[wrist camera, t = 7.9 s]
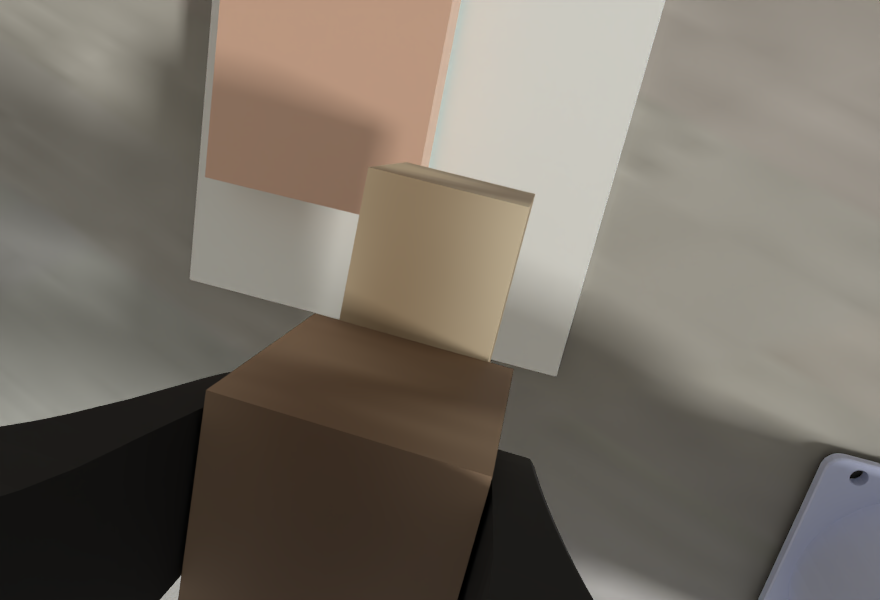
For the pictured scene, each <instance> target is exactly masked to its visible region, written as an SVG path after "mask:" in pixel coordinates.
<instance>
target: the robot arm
mask: <svg viewBox="0 0 880 600" xmlns="http://www.w3.org/2000/svg"><path fill="white" fill-rule="evenodd" d="M230 373H231V372H228V373H223V374H219V375H215V376H211V377H207V378H203V379H199V380H196V381H192V382H189V383H185V384H182V385H178V386H175V387H171V388H168V389H164V390H160V391H157V392H153V393H150V394H146V395H143V396H139V397H135V398H132V399H128V400H124V401H120V402H116V403H112V404H108V405H103V406H99V407H95V408H91V409H87V410H83V411H79V412H75V413H71V414H66V415H62V416H57V417H52V418H47V419H42V420H37V421H31V422H26V423H20V424H14V425H8V426H1V427H0V600H160V599H161V598H162V596H163V595H164V594H165V593H166V592H167V591H168V590H169V588H170V587H171V586H172V585H173V584H174V583H175V581H176V580H177V579H178V578H179V577H180V576H181V575H182V568H183V560H184V552H185V545H186V537H187V530H188V522H189V515H190V507H191V500H192V492H193V484H194V477H195V469H196V462H197V454H198V447H199V439H200V432H201V424H202V417H203V409H204V401H205V394H206V390H207V389H208V388H210V387H211V386H212V385H214V384H215V383H217V382H218V381H220V380H221V379H222V378H224V377H225V376H227V375H228V374H230ZM857 470H861V471H863V474H862V475H861V476H860V477H858V478H855V479H853V478H850V475H851V474H852V473H853V472H855V471H857ZM457 600H593V598H592V596H591V595H590V593H589V591H588V589H587V588H586V586H585V584H584V582H583V580H582V578H581V576H580V575H579V573H578V571H577V569H576V567H575V565H574V563H573V561H572V559H571V557H570V555H569V553H568V551H567V549H566V547H565V545H564V543H563V540H562V538H561V536H560V534H559V532H558V529H557V527H556V525H555V523H554V520H553V518H552V516H551V513H550V511H549V508H548V506H547V503H546V500H545V498H544V495H543V492H542V490H541V487H540V484H539V481H538V478H537V474H536V471H535V468H534V465H533V464H532V462H531V460H530V459H528V458H525V457H522V456H518V455H515V454H512V453H508V452H505V451H502V450H498V451H497V456H496V461H495V466H494V471H493V476H492V480H491V484H490V487H489V491H488V494H487V498H486V501H485V505H484V508H483V512H482V515H481V519H480V522H479V526H478V529H477V533H476V536H475V540H474V543H473V547H472V550H471V554H470V557H469V561H468V564H467V568H466V571H465V575H464V578H463V582H462V585H461V589H460V592H459V596H458V599H457ZM758 600H880V463H877V462H873V461H870V460H866V459H862V458H858V457H854V456H851V455H847V454H842V453H835V454H831V455H829V456H827V457H825V458H824V459H823V461H822V462H821V464H820V466H819V468H818V470H817V472H816V475H815V477H814V479H813V481H812V483H811V485H810V488H809V490H808V492H807V494H806V496H805V498H804V501H803V503H802V505H801V507H800V509H799V512H798V514H797V516H796V518H795V520H794V522H793V525H792V527H791V529H790V531H789V533H788V535H787V538H786V540H785V542H784V544H783V546H782V548H781V551H780V553H779V555H778V557H777V559H776V562H775V564H774V566H773V568H772V570H771V572H770V575H769V577H768V579H767V581H766V583H765V585H764V588H763V590H762V592H761V594H760V596H759V599H758Z"/></svg>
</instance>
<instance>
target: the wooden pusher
mask: <svg viewBox="0 0 880 600" xmlns="http://www.w3.org/2000/svg"><path fill="white" fill-rule="evenodd" d="M534 197H535V194H533V193H529V192H525V191H521V190H517V189H513V188H509V187H505V186H501V185H497V184H493V183H489V182H485V181H481V180H477V179H473V178H469V177H465V176H461V175H457V174H452V173H448V172H444V171H440V170H436V169H432V168H428V167H424V166H420V165H416V164H412V163H408V162H404V163H396V164H388V165H381V166H373V167H368V172H367V177H366V182H365V188H364V193H363V198H362V203H361V209H360V214H359V219H358V224H357V230H356V235H355V240H354V245H353V250H352V256H351V261H350V266H349V271H348V277H347V282H346V287H345V292H344V298H343V303H342V308H341V313H340V318H339V320H337V319H334V318H330V317H327V316H323V315H320V314H316V313H315V314H313V315H312V316H311V317H309V318H308V319H306V320H305V321H304V322H302V323H301V324H299V325H298V326H296V327H295V328H294V329H292V330H291V331H289V332H288V333H286V334H285V335H284V336H282V337H281V338H279V339H278V340H276V341H275V342H274V343H272V344H271V345H269V346H268V347H267V348H265V349H264V350H262V351H261V352H259V353H258V354H257V355H255V356H254V357H252V358H251V359H249V360H248V361H247V362H245V363H244V364H242V365H241V366H240V367H238V368H237V369H235V370H234V371H232V372H231V373H230V374H228V375H227V376H225V377H224V378H222V379H221V380H220V381H218V382H217V383H215V384H214V385H212V386H211V387H210V388H208V389H207V390H206V394H205V401H204V409H203V417H202V424H201V432H200V439H199V447H198V454H197V462H196V469H195V477H194V484H193V492H192V500H191V507H190V515H189V522H188V530H187V537H186V545H185V552H184V560H183V568H182V575H181V583H180V590H179V598H178V600H457V599H458V596H459V592H460V589H461V585H462V582H463V578H464V575H465V571H466V568H467V564H468V561H469V557H470V554H471V550H472V547H473V543H474V540H475V536H476V533H477V529H478V526H479V522H480V519H481V515H482V512H483V508H484V505H485V501H486V498H487V494H488V491H489V487H490V484H491V480H492V476H493V471H494V466H495V461H496V456H497V451H498V446H499V441H500V436H501V431H502V426H503V421H504V416H505V411H506V406H507V401H508V396H509V390H510V385H511V380H512V375H513V370H514V369H511V368H508V367H504V366H501V365H497V364H494V363H490V361H491V357H492V354H493V350H494V346H495V343H496V339H497V335H498V331H499V328H500V324H501V320H502V316H503V313H504V309H505V305H506V301H507V298H508V294H509V290H510V287H511V283H512V279H513V275H514V272H515V268H516V264H517V260H518V257H519V253H520V249H521V246H522V242H523V238H524V234H525V231H526V227H527V223H528V219H529V216H530V212H531V208H532V205H533V201H534Z"/></svg>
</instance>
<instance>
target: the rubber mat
mask: <svg viewBox="0 0 880 600" xmlns="http://www.w3.org/2000/svg"><path fill="white" fill-rule="evenodd" d="M664 4H665V0H461V4H460V9H459V14H458V19H457V25H456V30H455V35H454V40H453V45H452V50H451V55H450V60H449V65H448V70H447V76H446V81H445V86H444V91H443V96H442V101H441V106H440V111H439V116H438V121H437V127H436V132H435V137H434V142H433V147H432V152H431V157H430V162H429V167H428V168H432V169H436V170H440V171H444V172H448V173H452V174H457V175H461V176H465V177H469V178H473V179H477V180H481V181H485V182H489V183H493V184H497V185H501V186H505V187H509V188H513V189H517V190H521V191H525V192H529V193H533V194H535V197H534V201H533V205H532V208H531V212H530V216H529V219H528V223H527V227H526V231H525V234H524V238H523V242H522V246H521V249H520V253H519V257H518V260H517V264H516V268H515V272H514V275H513V279H512V283H511V287H510V290H509V294H508V298H507V301H506V305H505V309H504V313H503V316H502V320H501V324H500V328H499V331H498V335H497V339H496V343H495V346H494V350H493V354H492V357H491V360H495V361H499V362H502V363H506V364H510V365H514V366H517V367H521V368H525V369H529V370H533V371H536V372H540V373H544V374H548V375H551V376H555V377H556V376H557V372H558V369H559V366H560V362H561V359H562V355H563V352H564V348H565V345H566V341H567V338H568V334H569V331H570V328H571V324H572V321H573V317H574V314H575V310H576V307H577V303H578V300H579V297H580V293H581V290H582V286H583V283H584V279H585V276H586V272H587V269H588V266H589V262H590V259H591V255H592V252H593V248H594V245H595V241H596V238H597V235H598V231H599V228H600V224H601V221H602V217H603V214H604V210H605V207H606V203H607V200H608V197H609V193H610V190H611V186H612V183H613V179H614V176H615V172H616V169H617V166H618V162H619V159H620V155H621V152H622V148H623V145H624V141H625V138H626V135H627V131H628V128H629V124H630V121H631V117H632V114H633V110H634V107H635V104H636V100H637V97H638V93H639V90H640V86H641V83H642V79H643V76H644V73H645V69H646V66H647V62H648V59H649V55H650V52H651V48H652V45H653V41H654V38H655V35H656V31H657V28H658V24H659V21H660V17H661V14H662V10H663V7H664ZM219 5H220V0H212V9H211V22H210V34H209V46H208V59H207V71H206V83H205V96H204V108H203V120H202V133H201V145H200V157H199V170H198V182H197V194H196V207H195V219H194V231H193V244H192V256H191V268H190V280H193V281H197V282H201V283H204V284H208V285H212V286H216V287H219V288H223V289H227V290H231V291H234V292H238V293H242V294H246V295H250V296H253V297H257V298H261V299H265V300H268V301H272V302H276V303H280V304H284V305H287V306H291V307H295V308H299V309H302V310H306V311H310V312H314V313H317V314H321V315H325V316H329V317H333V318H336V319H339V318H340V313H341V308H342V303H343V298H344V292H345V287H346V282H347V277H348V271H349V266H350V261H351V256H352V250H353V245H354V240H355V235H356V230H357V224H358V219H359V215H358V214H354V213H350V212H346V211H342V210H338V209H334V208H330V207H325V206H321V205H317V204H313V203H309V202H305V201H301V200H297V199H293V198H289V197H284V196H280V195H276V194H272V193H268V192H264V191H260V190H256V189H252V188H248V187H243V186H239V185H235V184H231V183H227V182H223V181H219V180H215V179H211V178H207V177H205V170H206V158H207V147H208V135H209V123H210V111H211V99H212V88H213V76H214V64H215V52H216V40H217V29H218V17H219Z"/></svg>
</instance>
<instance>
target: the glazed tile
mask: <svg viewBox="0 0 880 600" xmlns="http://www.w3.org/2000/svg"><path fill="white" fill-rule="evenodd" d="M460 4H461V0H220V5H219V17H218V29H217V40H216V52H215V64H214V76H213V88H212V99H211V111H210V123H209V135H208V147H207V158H206V170H205V177H207V178H211V179H215V180H219V181H223V182H227V183H231V184H235V185H239V186H243V187H248V188H252V189H256V190H260V191H264V192H268V193H272V194H276V195H280V196H284V197H289V198H293V199H297V200H301V201H305V202H309V203H313V204H317V205H321V206H325V207H330V208H334V209H338V210H342V211H346V212H350V213H354V214H358V215H359V214H360V209H361V203H362V198H363V193H364V188H365V182H366V177H367V172H368V167H373V166H381V165H388V164H396V163H404V162H408V163H412V164H416V165H420V166H424V167H429V162H430V157H431V152H432V147H433V142H434V137H435V132H436V127H437V121H438V116H439V111H440V106H441V101H442V96H443V91H444V86H445V81H446V76H447V70H448V65H449V60H450V55H451V50H452V45H453V40H454V35H455V30H456V25H457V19H458V14H459V9H460Z"/></svg>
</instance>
